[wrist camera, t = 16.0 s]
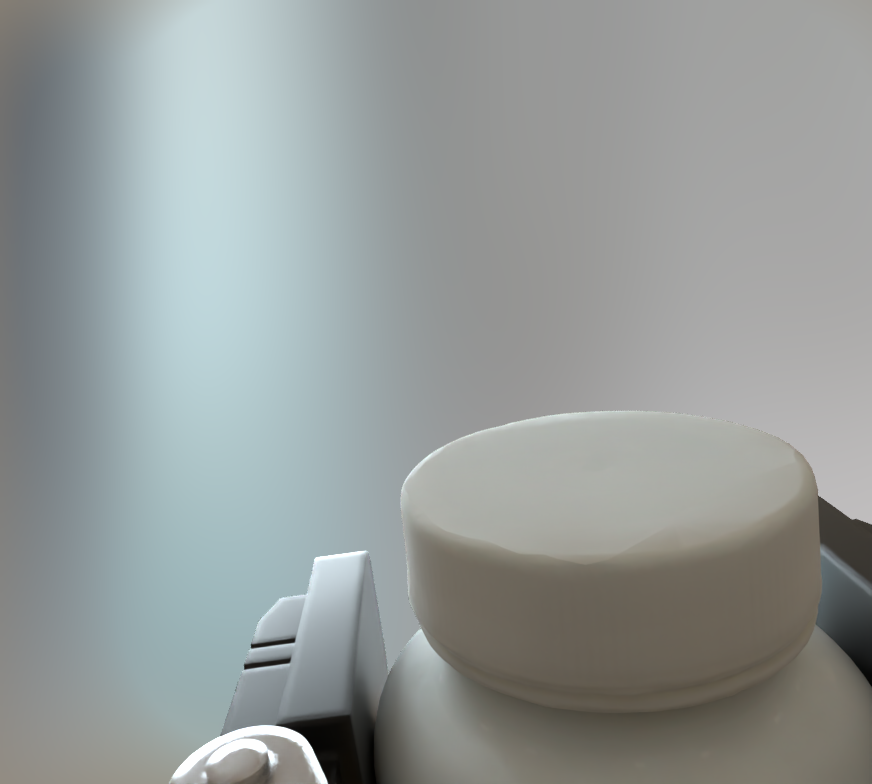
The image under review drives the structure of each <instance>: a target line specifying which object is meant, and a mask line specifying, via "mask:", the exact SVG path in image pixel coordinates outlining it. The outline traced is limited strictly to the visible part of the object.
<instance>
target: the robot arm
mask: <svg viewBox="0 0 872 784" xmlns="http://www.w3.org/2000/svg"><path fill="white" fill-rule="evenodd" d="M818 510H819V533H820V553H821V576H822V594H821V598H820V602H819V604H818V614H817V619H816V623H815V624H816V625H817V626H818V627H819V628H820V629H822V630H823V631H824V632H825V633H826V634H827V635H828V636H829V637H830V638H831V639H833V640H834V641H835V642H836V643H837V645H838V646H839V647H840V648H841V649H842V650H843V651H844V652H845V653H846V654H847V655H848V656H849V657H850V658H851V659H852V661H853V662H854V663H855V665H856V666H857V667H858V668H859V670H860V671H861V672H862V674H863V675H864V676H865V677H866V679H867V681H868V682H869V684H870V685H871V687H872V525H871V524H868V523H866V522H863V521H860V520H857V519H854V520H852V519H850V518H849V517H847V516H846V515H844V514H843V513H842V512H840V511H839V510H838V509H836V508H835V507H833V506H832V505H831V504H829V503H828V502H826V501H825V500H824V499H822V498H821V497H819V496H818ZM387 677H388V667H387V659H386V651H385V644H384V638H383V632H382V626H381V620H380V614H379V608H378V602H377V596H376V590H375V584H374V578H373V571H372V566H371V561H370V557H369V553H368V551H360V552H353V553H346V554H338V555H331V556H324V557H317V558H315V561H314V565H313V569H312V573H311V577H310V582H309V586H308V590H307V594H304V595H296V596H289V597H282V598H280V599H279V600H278V601H277V602H276V603H275V604H274V605H273V606H272V607H271V608H270V609H269V610H268V611H267V612H266V613H265V614H264V615H263V617H261V619H260V620H259V621H258V625H257V627H256V630H255V633H254V636H253V639H252V642H251V649H249V651H248V654H247V657H246V660H245V663H244V670H242V672H241V675H240V678H239V681H238V684H237V687H236V690H235V693H234V696H233V699H232V702H231V705H230V708H229V711H228V714H227V717H226V720H225V723H224V726H223V729H222V732H221V735H220V737H219V738H217V739H215V740H213V741H211V742H209V743H208V744H206V745H204V746H203V747H202V748H200V749H199V750H197V751H196V752H194V753H193V754H192V755H191V756H190V757H189V758H188V759H186V760H185V761H184V762H183V764H182V765H181V766H180V767H179V768H178V769H177V771H176V772H175V774H174V775H173V777H172V778H171V779H170V782H169V784H376V777H375V770H374V729H375V722H376V716H377V710H378V705H379V699H380V696H381V693H382V690H383V687H384V684H385V682H386V679H387Z"/></svg>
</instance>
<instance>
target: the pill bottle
mask: <svg viewBox="0 0 872 784" xmlns="http://www.w3.org/2000/svg"><path fill="white" fill-rule="evenodd" d="M401 515H402V524H403V533H404V541H405V551H406V561H407V570H408V577H407V578H408V579H407V587H408V598H409V601H410V604H411V608H412V610H413V611H414V613H415V615H416V617H417V619H418V621H419V625H420V627H421V628H420V629H419V631H418V632H417V633H416V634H415V635H414V636H413V637H412V638H411V639H410V641H409V642H408V644H407V645H406V646H405V648H404V649H403V650H402V652H401V653H400V655H399V656H398V658H397V660H396V662H395V663H394V665H393V666H392V668H391V671H390V673H389V675H388V677H387V679H386V682H385V684H384V687H383V690H382V693H381V696H380V699H379V705H378V710H377V716H376V722H375V729H374V770H375V777H376V784H872V687H871V685H870V684H869V682H868V681H867V679H866V677H865V676H864V675H863V674H862V672H861V671H860V670H859V668H858V667H857V666H856V665H855V663H854V662H853V661H852V659H851V658H850V657H849V656H848V655H847V654H846V653H845V652H844V651H843V650H842V649H841V648H840V647H839V646H838V645H837V643H836V642H835V641H834V640H833V639H831V638H830V637H829V636H828V635H827V634H826V633H825V632H824V631H823V630H822V629H820V628H819V627H818V626H817V625H816V624H815V623H816V619H817V614H818V604H819V602H820V598H821V594H822V576H821V553H820V533H819V510H818V489H817V485H816V480H815V476H814V474H813V471H812V468H811V467H810V465H809V463H808V462H807V461H806V459H805V458H804V456H803V455H802V454H801V453H799V452H798V451H797V450H796V449H795V448H794V447H792V446H791V445H790V444H788V443H786V442H785V441H783V440H781V439H780V438H777V437H775V436H773V435H770V434H768V433H765V432H763V431H760V430H757V429H754V428H750V427H747V426H743V425H740V424H736V423H733V422H729V421H724V420H719V419H713V418H706V417H702V416H695V415H688V414H681V413H671V412H657V411H599V412H581V413H567V414H557V415H551V416H544V417H539V418H534V419H528V420H523V421H518V422H513V423H509V424H507V425H503V426H498V427H494V428H490V429H486V430H483V431H479V432H476V433H474V434H470V435H467V436H464V437H462V438H460V439H457V440H455V441H453V442H451V443H448V444H447V445H445V446H443V447H441V448H440V449H438V450H436V451H434V452H433V453H431V454H430V455H429V456H427V457H426V458H425V459H424V460H422V461H421V462H420V463H419V464H418V465H417V466H416V467H415V468H414V469H413V470H412V472H411V473H410V474H409V475H408V476H407V478H406V480H405V482H404V485H403V487H402V492H401Z"/></svg>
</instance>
